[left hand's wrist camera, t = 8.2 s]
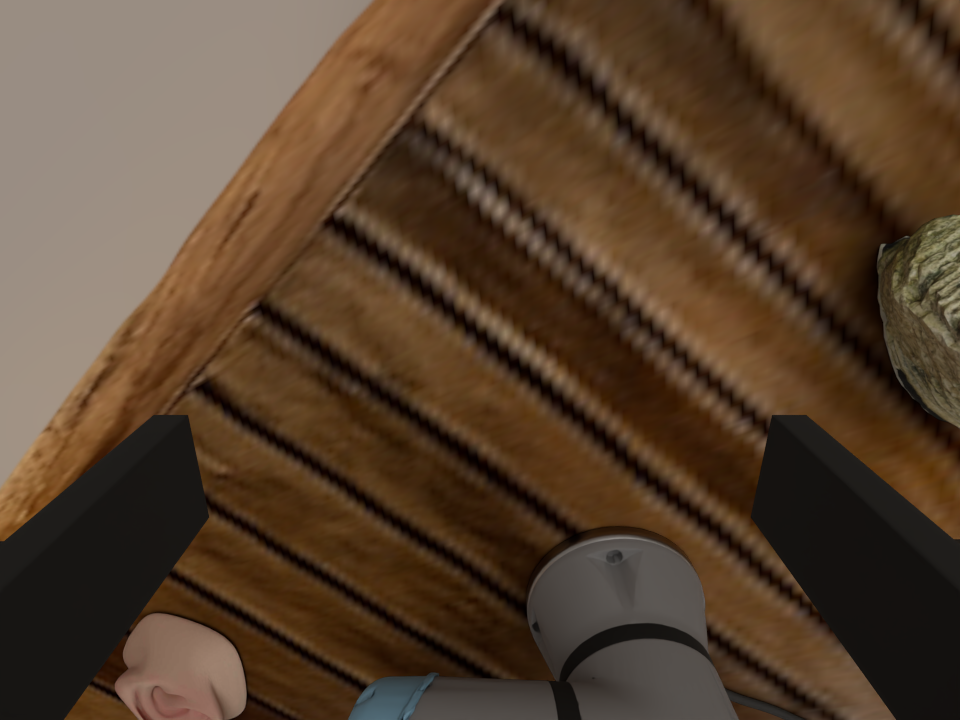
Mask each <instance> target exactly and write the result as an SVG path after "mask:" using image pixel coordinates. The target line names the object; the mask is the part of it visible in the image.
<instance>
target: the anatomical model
mask: <svg viewBox="0 0 960 720" xmlns="http://www.w3.org/2000/svg"><path fill="white" fill-rule="evenodd" d="M123 658H124V661H125V664H126V665H127V667H128V668H129V669H128V670H127V671H126V672H124V673H123V674H122V675H121V676H120V677H119V678H118V680H117V681H116V684H115V690H116V692H117V694H118V695H119V696H120V698H121V699H122V700H123V701H124V703H125V704H126V705H127V706H128V707H129V709H130V710H131V711H132V712H133V713H134V715H135V716H136V717H137V718H138V719H139V720H229V719H232V718H234V717H236V716H238V715H239V714H240V713H242V711H243V710H244V708H245V705H246V697H247V694H246V683H245V677H244V672H243V667H242V664H241V661H240V658H239V655H238V653H237V651H236V649H235V648H234V646H233V645H232V644H231V643H230V642H229V641H228V640H227V639H226V638H225V637H224V636H222V635H221V634H219V633H218V632H216V631H214V630H212V629H210V628H208V627H206V626H203V625H201V624H198V623H196V622H193V621H190V620H187V619H184V618H181V617H177V616H173V615H169V614H162V613H154V614H150V615H148V616H146V617H144V618H143V619H142V620H141V621H140V622H139V623H138V625H137V626H136V628H135V629H134V630H133V632H132V633H131V635H130V636H129V638H128V640H127V643H126V645H125V648H124V651H123Z"/></svg>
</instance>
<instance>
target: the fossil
mask: <svg viewBox="0 0 960 720" xmlns="http://www.w3.org/2000/svg"><path fill="white" fill-rule="evenodd" d="M877 271H878V275H879V288H878V301H879V304H880V315H881V318H882V320H883V325H884V339H885V342H886V346H887V349H888V352H889V356H890V359H891V363H892V366H893V369H894V371H895V374H896V376H897V378H898V380H899V382H900V383H901V385H902V386H903V387H904V388H905V389H906V390H907V391H908V393H909V394H910V395H911V397H912V398H913V399H915V400H916V401H917V402H919V403H920V405H921V406H922V408H923V409H924V410H926V411H927V412H928V413H929V414H931V415H933V416H934V417H936V418H937V419H939V420H942V421H945V422H949V423H951V424H953V425H955V426H957V427H958V428H959V429H960V215H949V216H945V217H940V218H935V219H933V220H931V221H929V222H927V223H925V224H923V225H922V226H921V227H920V228H919V229H918V230H917V231H916V232H915V233H914V234H913V235H912V236H911V237H908V236H905V237H903V238H901V239H899V240H897V241H896V242H894V243H892V244H881V246H880V250H879V255H878V260H877Z"/></svg>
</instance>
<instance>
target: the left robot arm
mask: <svg viewBox="0 0 960 720" xmlns="http://www.w3.org/2000/svg"><path fill="white" fill-rule="evenodd" d="M208 518H209V514H208V509H207V505H206V500H205V495H204V490H203V485H202V481H201V476H200V471H199V466H198V461H197V457H196V452H195V447H194V442H193V437H192V433H191V428H190V423H189V418H188V415H153V416H152V417H151V418H150V419H149V420H147V421H146V422H145V423H144V424H143V425H141V426H140V427H139V428H138V429H137V430H136V431H134V432H133V433H132V434H131V435H130V436H128V437H127V438H126V439H125V440H124V441H122V442H121V443H120V444H119V445H118V446H117V447H115V448H114V449H113V450H112V451H111V452H109V453H108V454H107V455H106V456H105V457H104V458H102V459H101V460H100V461H99V462H98V463H96V464H95V465H94V466H93V467H92V468H90V469H89V470H88V471H87V472H86V473H85V474H83V475H82V476H81V477H80V478H79V479H77V480H76V481H75V482H74V483H73V484H71V485H70V486H69V487H68V488H67V489H66V490H64V491H63V492H62V493H61V494H60V495H58V496H57V497H56V498H55V499H54V500H53V501H51V502H50V503H49V504H48V505H47V506H45V507H44V508H43V509H42V510H41V511H39V512H38V513H37V514H36V515H35V516H34V517H32V518H31V519H30V520H29V521H28V522H26V523H25V524H24V525H23V526H22V527H20V528H19V529H18V530H17V531H16V532H15V533H13V534H12V535H11V536H10V537H9V538H7V539H6V540H5V541H0V720H64V719H65V717H66V716H67V714H68V713H69V712H70V710H71V709H72V707H73V706H74V705H75V703H76V702H77V700H78V699H79V698H80V696H81V695H82V693H83V692H84V691H85V689H86V688H87V687H88V685H89V684H90V682H91V681H92V680H93V678H94V677H95V675H96V674H97V673H98V671H99V670H100V668H101V667H102V666H103V664H104V663H105V661H106V660H107V659H108V657H109V656H110V655H111V653H112V652H113V650H114V649H115V648H116V646H117V645H118V643H119V642H120V641H121V639H122V638H123V636H124V635H125V634H126V632H127V631H128V629H129V628H130V627H131V625H132V624H133V622H134V621H135V620H136V618H137V617H138V616H139V614H140V613H141V611H142V610H143V609H144V607H145V606H146V604H147V603H148V602H149V600H150V599H151V597H152V596H153V595H154V593H155V592H156V590H157V589H158V588H159V586H160V585H161V584H162V582H163V581H164V579H165V578H166V577H167V575H168V574H169V572H170V571H171V570H172V568H173V567H174V565H175V564H176V563H177V561H178V560H179V558H180V557H181V556H182V554H183V553H184V551H185V550H186V549H187V547H188V546H189V545H190V543H191V542H192V540H193V539H194V538H195V536H196V535H197V533H198V532H199V531H200V529H201V528H202V526H203V525H204V524H205V522H206V521H207V519H208ZM751 518H752V519H753V521H754V522H755V524H756V525H757V526H758V528H759V529H760V531H761V532H762V533H763V535H764V536H765V538H766V539H767V540H768V542H769V543H770V545H771V546H772V547H773V549H774V550H775V551H776V553H777V554H778V556H779V557H780V558H781V560H782V561H783V563H784V564H785V565H786V567H787V568H788V570H789V571H790V572H791V574H792V575H793V577H794V578H795V579H796V581H797V582H798V584H799V585H800V586H801V588H802V589H803V590H804V592H805V593H806V595H807V596H808V597H809V599H810V600H811V602H812V603H813V604H814V606H815V607H816V609H817V610H818V611H819V613H820V614H821V616H822V617H823V618H824V620H825V621H826V622H827V624H828V625H829V627H830V628H831V629H832V631H833V632H834V634H835V635H836V636H837V638H838V639H839V641H840V642H841V643H842V645H843V646H844V648H845V649H846V650H847V652H848V653H849V655H850V656H851V657H852V659H853V660H854V661H855V663H856V664H857V666H858V667H859V668H860V670H861V671H862V673H863V674H864V675H865V677H866V678H867V680H868V681H869V682H870V684H871V685H872V687H873V688H874V689H875V691H876V692H877V693H878V695H879V696H880V698H881V699H882V700H883V702H884V703H885V705H886V706H887V707H888V709H889V710H890V712H891V713H892V714H893V716H894V717H895V719H896V720H960V539H953V538H951V537H950V536H949V535H948V534H947V533H945V532H944V531H943V530H942V529H941V528H940V527H938V526H937V525H936V524H935V523H934V522H932V521H931V520H930V519H929V518H928V517H926V516H925V515H924V514H923V513H922V512H921V511H919V510H918V509H917V508H916V507H915V506H913V505H912V504H911V503H910V502H909V501H907V500H906V499H905V498H904V497H903V496H902V495H900V494H899V493H898V492H897V491H896V490H894V489H893V488H892V487H891V486H890V485H889V484H887V483H886V482H885V481H884V480H883V479H881V478H880V477H879V476H878V475H877V474H875V473H874V472H873V471H872V470H871V469H870V468H868V467H867V466H866V465H865V464H864V463H862V462H861V461H860V460H859V459H858V458H856V457H855V456H854V455H853V454H852V453H851V452H849V451H848V450H847V449H846V448H845V447H843V446H842V445H841V444H840V443H839V442H838V441H836V440H835V439H834V438H833V437H832V436H830V435H829V434H828V433H827V432H826V431H824V430H823V429H822V428H821V427H820V426H819V425H817V424H816V423H815V422H814V421H813V420H811V419H810V418H809V417H808V416H807V415H772V418H771V423H770V428H769V433H768V437H767V442H766V447H765V452H764V457H763V461H762V466H761V471H760V476H759V481H758V485H757V490H756V495H755V500H754V505H753V509H752V514H751ZM526 606H527V616H528V622H529V626H530V629H531V632H532V635H533V638H534V640H535V642H536V644H537V646H538V648H539V650H540V652H541V653H542V655H543V657H544V659H545V661H546V663H547V665H548V667H549V669H550V671H551V672H552V674H553V676H554V678H555V680H556V681H543V680H512V679H489V678H466V677H443V676H439V673H430V674H428V675H427V676H400V677H384V678H381V679H378V680H376V681H374V682H373V683H372V684H370V685H369V686H368V687H367V688H366V689H365V690H364V691H363V693H362V694H361V696H360V697H359V698H358V700H357V702H356V704H355V706H354V708H353V710H352V712H351V714H350V716H349V719H348V720H739V719H738V717H737V715H736V713H735V711H734V708H733V706H732V704H731V702H730V700H731V701H733V702H736V703H739V704H742V705H745V706H748V707H751V708H755V709H758V710H761V711H764V712H767V713H770V714H773V715H775V716H778V717H780V718H782V719H784V720H805V719H803V718H801V717H799V716H796V715H794V714H792V713H790V712H788V711H785V710H783V709H781V708H779V707H776V706H774V705H771V704H768V703H765V702H762V701H759V700H756V699H753V698H750V697H746V696H743V695H740V694H738V693H735V692H732V691H730V690H728V689H725V688H724V686H723V684H722V682H721V680H720V678H719V675H718V673H717V671H716V669H715V667H714V665H713V662H712V660H711V658H710V655H709V653H708V643H707V630H706V619H705V598H704V593H703V588H702V585H701V582H700V579H699V577H698V575H697V573H696V571H695V569H694V567H693V565H692V563H691V562H690V560H689V558H688V557H687V556H686V554H685V553H684V552H683V551H682V550H681V549H680V548H679V547H678V546H677V545H675V544H674V543H673V542H671V541H670V540H668V539H666V538H665V537H663V536H661V535H659V534H656V533H653V532H651V531H647V530H643V529H639V528H632V527H606V528H599V529H594V530H590V531H587V532H584V533H581V534H578V535H576V536H573V537H571V538H569V539H567V540H565V541H564V542H562V543H561V544H559V545H558V546H556V547H555V548H554V549H552V550H551V551H550V552H549V553H548V554H547V555H546V556H545V557H544V558H543V559H542V560H541V561H540V563H539V564H538V565H537V567H536V568H535V570H534V572H533V573H532V576H531V578H530V580H529V583H528V587H527V592H526Z"/></svg>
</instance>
